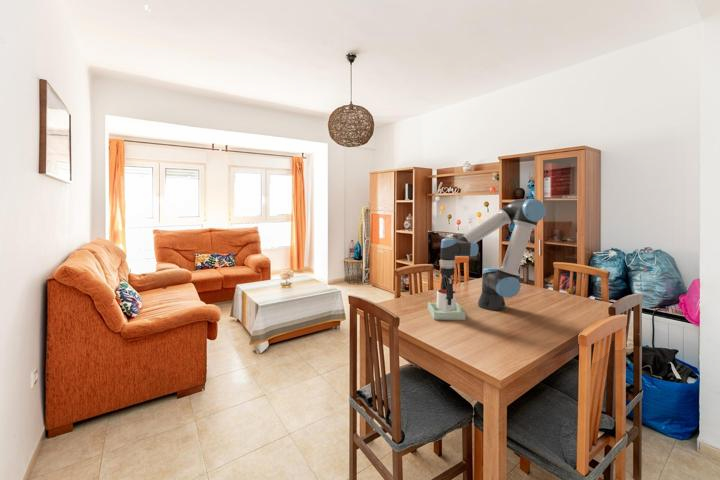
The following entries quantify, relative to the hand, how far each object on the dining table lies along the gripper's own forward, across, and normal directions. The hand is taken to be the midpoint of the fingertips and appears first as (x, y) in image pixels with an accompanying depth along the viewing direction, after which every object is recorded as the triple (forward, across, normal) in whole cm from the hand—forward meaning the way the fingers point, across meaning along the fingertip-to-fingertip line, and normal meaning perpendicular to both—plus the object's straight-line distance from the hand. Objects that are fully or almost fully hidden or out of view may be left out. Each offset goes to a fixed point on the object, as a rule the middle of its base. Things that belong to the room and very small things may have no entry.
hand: (446, 307), depth 178 cm
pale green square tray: (+4, 0, 0) cm, 4 cm away
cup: (+2, 0, 0) cm, 2 cm away
